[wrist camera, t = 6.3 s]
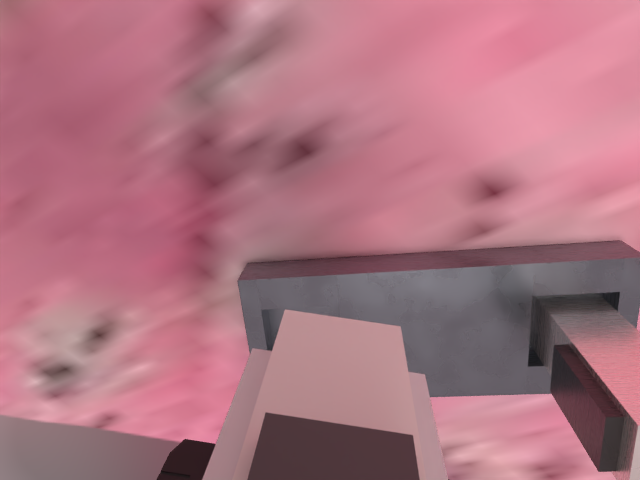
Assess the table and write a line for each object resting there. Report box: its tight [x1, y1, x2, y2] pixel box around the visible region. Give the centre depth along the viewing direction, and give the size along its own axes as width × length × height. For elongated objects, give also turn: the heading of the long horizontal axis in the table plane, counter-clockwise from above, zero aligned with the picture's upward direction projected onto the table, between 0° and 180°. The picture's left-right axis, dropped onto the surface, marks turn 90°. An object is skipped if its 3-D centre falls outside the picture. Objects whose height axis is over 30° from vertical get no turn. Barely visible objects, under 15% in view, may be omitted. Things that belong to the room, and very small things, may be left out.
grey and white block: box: [237, 241, 640, 480], centre depth 28 cm, size 10×26×14 cm, turn 95°
